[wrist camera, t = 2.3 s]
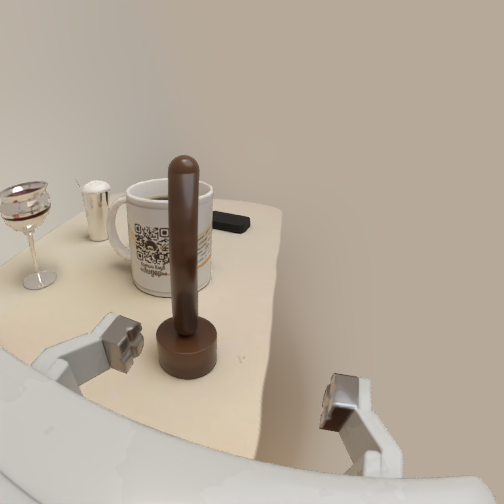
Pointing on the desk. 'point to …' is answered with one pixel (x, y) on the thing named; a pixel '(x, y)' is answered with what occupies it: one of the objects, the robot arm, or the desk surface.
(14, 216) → the wineglass
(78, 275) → the desk surface
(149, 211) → the mug
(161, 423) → the desk surface
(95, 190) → the milkshake
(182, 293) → the brown plunger
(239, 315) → the desk surface
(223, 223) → the remote control
